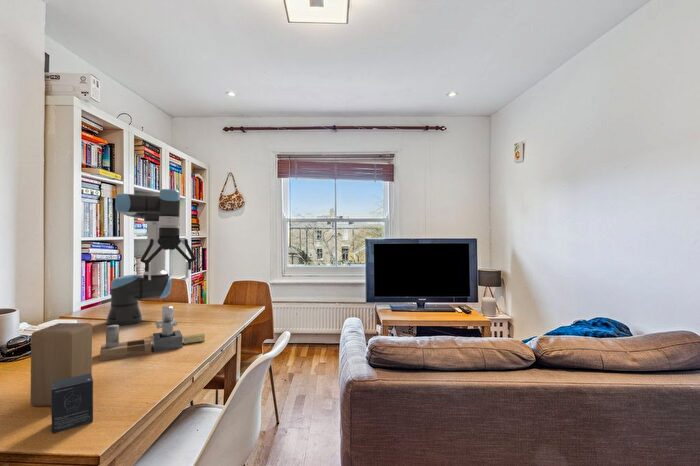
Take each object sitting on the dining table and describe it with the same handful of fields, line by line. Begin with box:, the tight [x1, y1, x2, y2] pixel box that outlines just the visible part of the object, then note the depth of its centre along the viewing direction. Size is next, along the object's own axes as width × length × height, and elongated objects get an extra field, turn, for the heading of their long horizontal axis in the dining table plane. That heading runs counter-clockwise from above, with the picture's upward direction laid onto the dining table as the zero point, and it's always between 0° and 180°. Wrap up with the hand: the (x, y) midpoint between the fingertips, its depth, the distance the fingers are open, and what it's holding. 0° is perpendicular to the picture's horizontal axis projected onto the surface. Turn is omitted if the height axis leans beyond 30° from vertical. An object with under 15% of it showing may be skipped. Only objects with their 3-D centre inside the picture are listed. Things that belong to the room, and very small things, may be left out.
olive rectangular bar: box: [182, 332, 206, 345], centre depth 147 cm, size 3×8×2 cm, turn 123°
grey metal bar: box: [161, 305, 174, 338], centre depth 141 cm, size 4×4×16 cm
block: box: [30, 322, 93, 407], centre depth 97 cm, size 10×10×20 cm
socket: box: [152, 329, 184, 353], centre depth 141 cm, size 10×10×4 cm
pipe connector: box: [155, 318, 178, 329], centre depth 156 cm, size 10×10×10 cm
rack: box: [99, 325, 152, 362], centre depth 132 cm, size 8×16×11 cm, turn 123°
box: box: [50, 373, 94, 434], centre depth 85 cm, size 8×6×11 cm
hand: (168, 278), depth 142 cm, fingers open, 13 cm apart
